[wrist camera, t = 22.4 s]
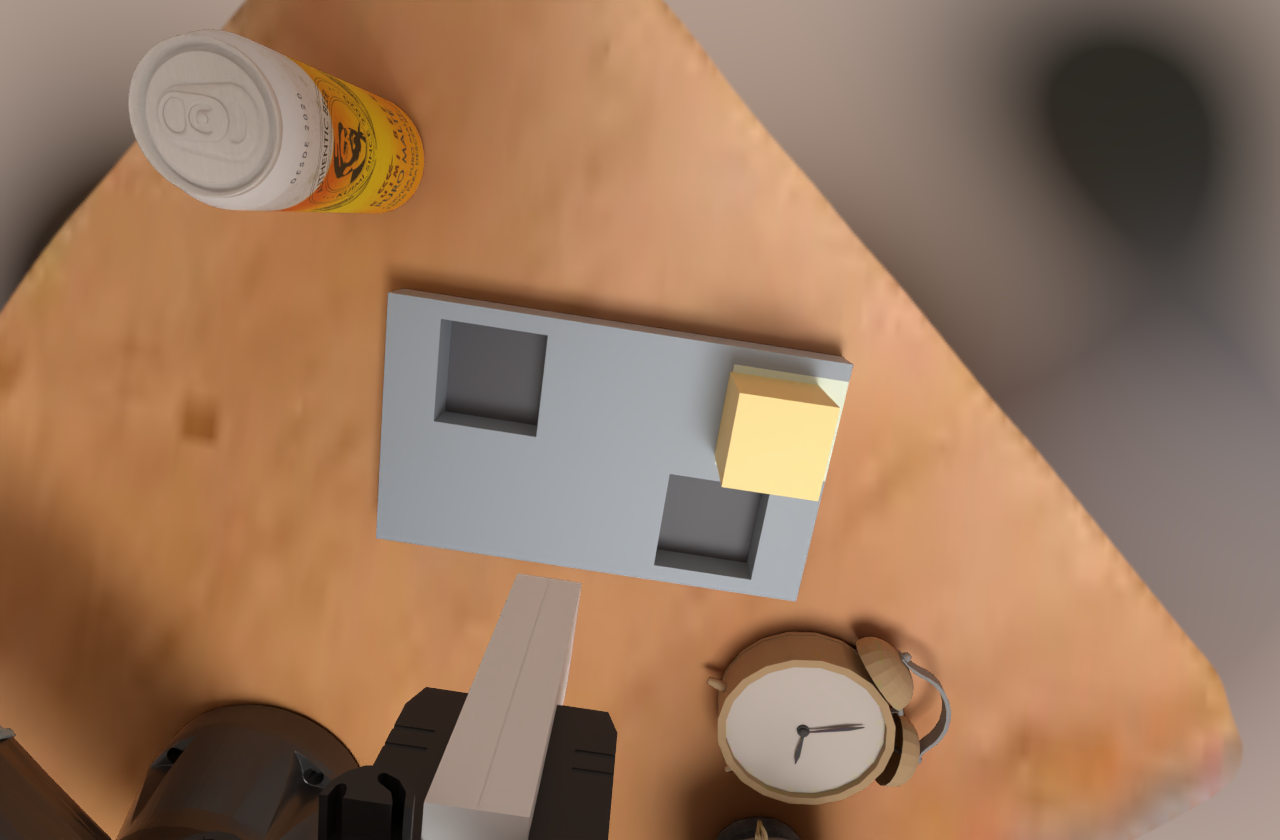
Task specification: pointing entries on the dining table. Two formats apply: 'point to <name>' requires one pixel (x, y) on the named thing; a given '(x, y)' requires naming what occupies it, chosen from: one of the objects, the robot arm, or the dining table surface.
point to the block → (775, 436)
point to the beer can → (268, 130)
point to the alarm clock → (821, 717)
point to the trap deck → (582, 444)
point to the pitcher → (758, 830)
